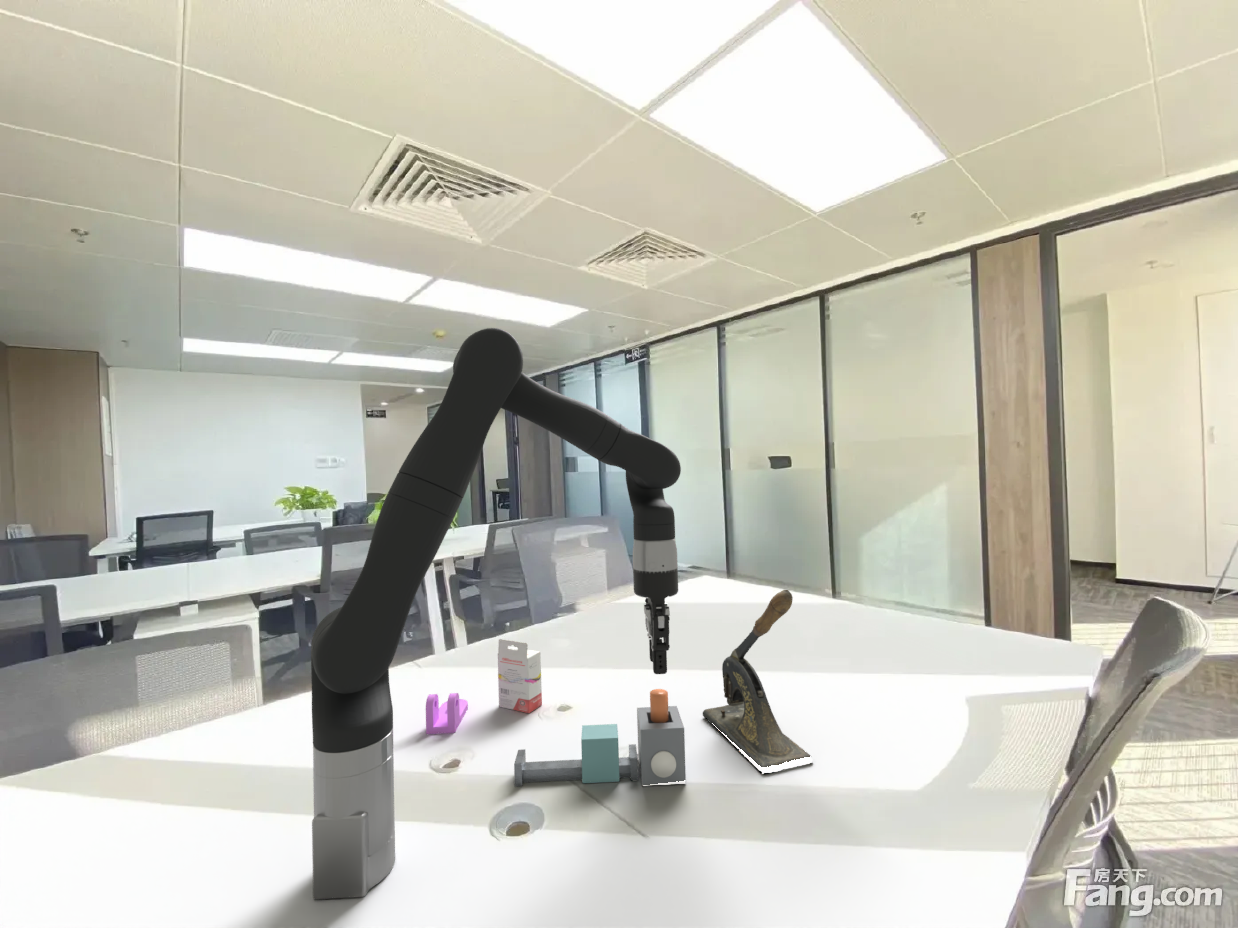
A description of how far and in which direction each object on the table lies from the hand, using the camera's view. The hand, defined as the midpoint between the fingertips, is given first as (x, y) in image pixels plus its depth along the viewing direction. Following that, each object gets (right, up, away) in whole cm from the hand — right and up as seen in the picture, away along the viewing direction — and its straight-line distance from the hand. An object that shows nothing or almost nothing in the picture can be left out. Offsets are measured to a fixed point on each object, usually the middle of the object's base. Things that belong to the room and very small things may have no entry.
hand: (658, 666), depth 88 cm
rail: (-14, -18, -1) cm, 22 cm away
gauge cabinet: (0, -17, 0) cm, 17 cm away
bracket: (-42, -19, +21) cm, 51 cm away
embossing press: (+19, -18, +9) cm, 27 cm away
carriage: (-10, -18, -1) cm, 20 cm away
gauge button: (0, -9, 0) cm, 9 cm away
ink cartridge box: (-28, -19, +26) cm, 43 cm away
